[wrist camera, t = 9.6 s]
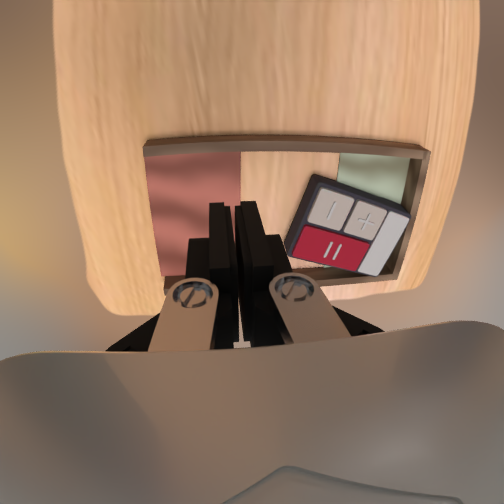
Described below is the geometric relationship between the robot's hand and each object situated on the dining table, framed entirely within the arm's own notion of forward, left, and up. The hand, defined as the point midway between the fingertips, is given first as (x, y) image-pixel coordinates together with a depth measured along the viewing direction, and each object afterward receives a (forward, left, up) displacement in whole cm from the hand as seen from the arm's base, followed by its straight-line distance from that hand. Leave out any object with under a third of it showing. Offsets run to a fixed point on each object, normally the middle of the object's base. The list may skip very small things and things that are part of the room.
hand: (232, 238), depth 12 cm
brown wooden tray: (+13, +9, -27) cm, 31 cm away
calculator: (+15, +17, -27) cm, 35 cm away
